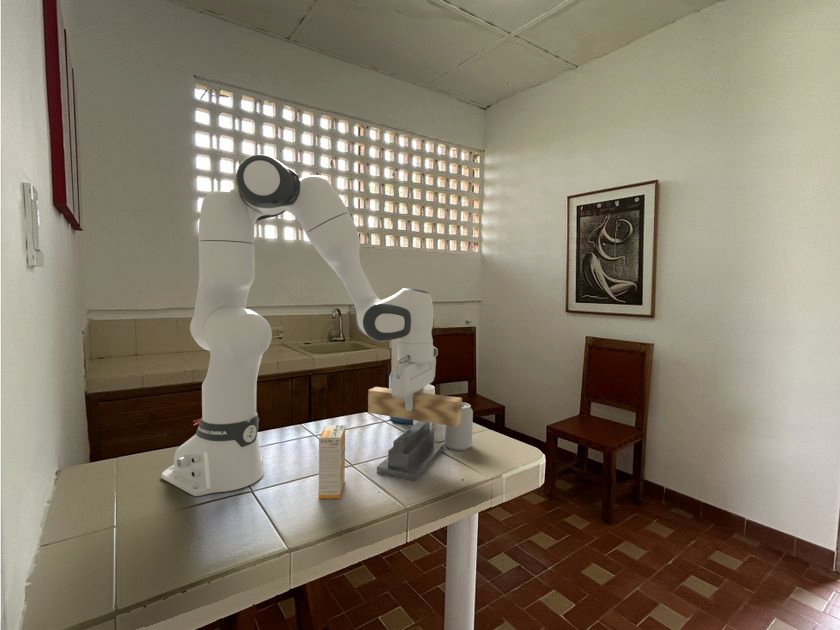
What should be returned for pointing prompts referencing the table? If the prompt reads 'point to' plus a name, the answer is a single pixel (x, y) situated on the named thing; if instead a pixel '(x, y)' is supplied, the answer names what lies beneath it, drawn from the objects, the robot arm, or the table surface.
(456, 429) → the can
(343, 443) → the supplement box
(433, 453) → the ridge
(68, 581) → the table surface
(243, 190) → the robot arm
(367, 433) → the table surface
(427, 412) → the wooden block
